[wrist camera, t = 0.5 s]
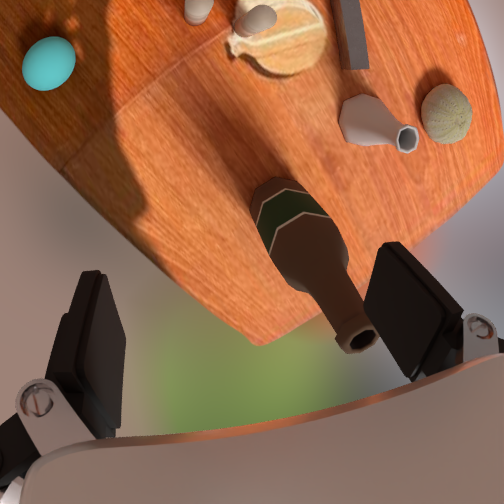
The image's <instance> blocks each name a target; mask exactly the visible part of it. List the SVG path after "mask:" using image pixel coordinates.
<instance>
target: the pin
mask: <svg viewBox="0 0 504 504" xmlns="http://www.w3.org/2000/svg"><path fill="white" fill-rule="evenodd" d="M276 21H277V15H276V12H275V11H274V10H273V9H272V8H271V7H269V6H267V5H258V6H256V7H254V8H253V9H252V10H250V11H249V12H248V13H246V14H245V15H244V16H243V17H241V18H240V19H239V20H238V21H236V23H235V25H234V30H235V32H236V33H237V34H238V35H239V36H241V37H249V36H252V35H254V34H256V33H259V32H261V31H264V30H266V29H269V28H271V27H272V26H274V25H275V23H276Z"/></svg>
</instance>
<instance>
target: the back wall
mask: <svg viewBox="0 0 504 504" xmlns="http://www.w3.org/2000/svg"><path fill="white" fill-rule="evenodd" d="M330 2H331V7H332V12H333V17H334V23H335V29H336V35H337V41H338V47H339V54H340V61H341V68H342V69H347V70H358V69H369V60H368V53H367V45H366V38H365V32H364V25H363V19H362V13H361V8H360V2H359V0H330Z"/></svg>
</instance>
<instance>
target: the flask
mask: <svg viewBox="0 0 504 504" xmlns="http://www.w3.org/2000/svg"><path fill="white" fill-rule="evenodd" d="M339 125H340V127H341V130H342V133H343V135H344V138H345V141H346V142H349V143H353V144H357V145H361V146H370V145H378V144H392V145H394V146H396V149H397V150H398V151H401V152H404V153H409V152H411V151H413V150H415V149H416V148H417V144H418V141H419V135H418V131H417V128H416V127H413V126H411V125H408V124H405V125H403V124H402V123H401V122H399V121H398V120H397V119H396V118H395V117H394V116H393V115H392V113H391V112H390V111H389V110H388V108H387V107H386V106H385V104H384V103H383V102H382V101H381V100H380V99H378V98H375V97H372V96H369V95H366V94H363V93H361V94H359V95H357V96H354V97H352V98H350V99H348V100H345V101H344V102H343V106H342V111H341V115H340V119H339Z"/></svg>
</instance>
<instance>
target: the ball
mask: <svg viewBox="0 0 504 504" xmlns="http://www.w3.org/2000/svg"><path fill="white" fill-rule="evenodd" d="M74 65H75V51H74V49H73V47H72V45H71V44H70V43H69V42H68V41H67V40H65V39H63V38H61V37H47V38H44V39H42V40H40V41H38V42H37V43H35V44H34V45H33V46H32V47H31V48H30V49H29V51H28V52H27V54H26V56H25V58H24V61H23V65H22V72H23V76H24V79H25V81H26V82H27V83H28V84H29V85H30V86H31V87H32V88H34V89H37V90H51V89H54V88H56V87H58V86H60V85H61V84H62V83H64V82H65V81H66V80H67V79H68V77H69V76H70V75H71V73H72V71H73V69H74Z"/></svg>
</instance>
